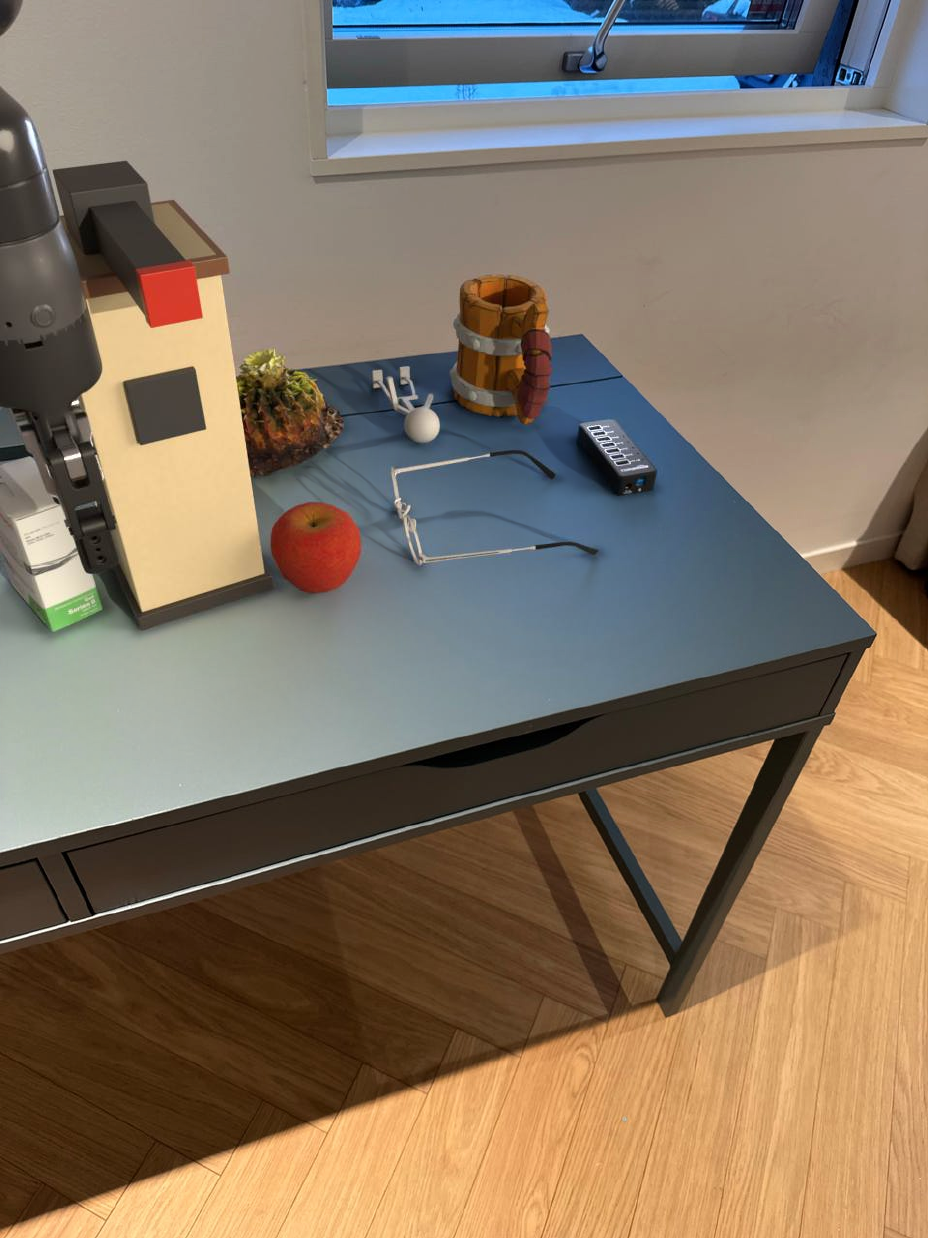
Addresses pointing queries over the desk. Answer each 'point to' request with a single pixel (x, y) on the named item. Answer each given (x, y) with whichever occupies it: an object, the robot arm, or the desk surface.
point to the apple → (315, 546)
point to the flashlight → (128, 239)
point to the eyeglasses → (428, 559)
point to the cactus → (282, 414)
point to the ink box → (42, 549)
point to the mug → (502, 347)
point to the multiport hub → (616, 457)
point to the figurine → (410, 408)
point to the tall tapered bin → (172, 439)
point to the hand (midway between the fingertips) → (85, 532)
